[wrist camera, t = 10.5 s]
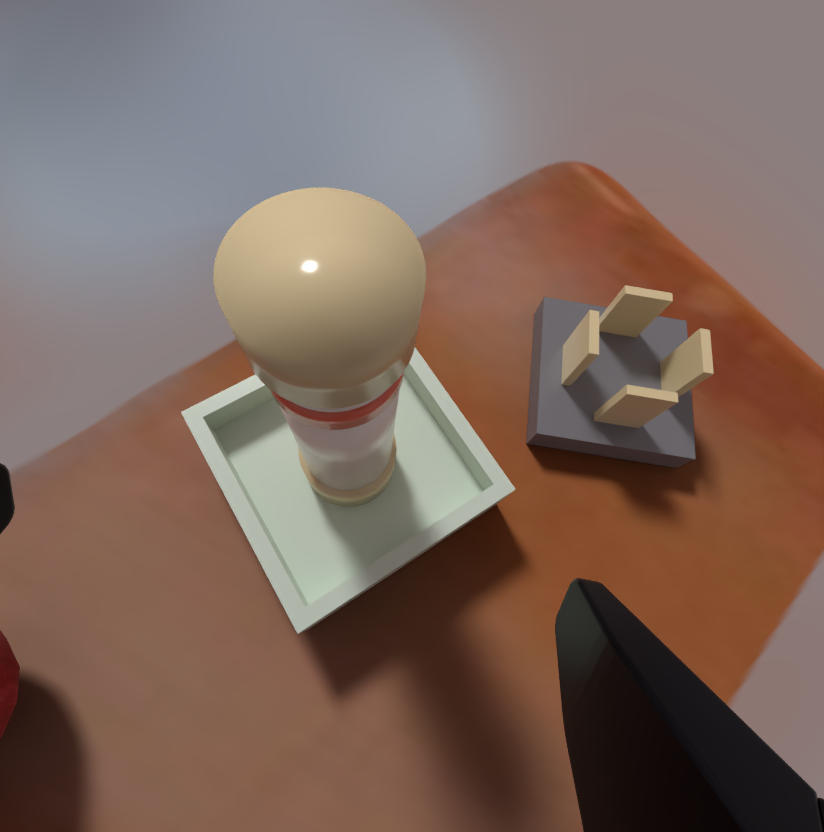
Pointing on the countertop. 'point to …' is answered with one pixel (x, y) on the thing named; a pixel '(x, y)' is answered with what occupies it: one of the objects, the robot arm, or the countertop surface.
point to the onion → (7, 682)
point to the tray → (339, 525)
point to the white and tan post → (327, 326)
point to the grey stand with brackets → (616, 378)
